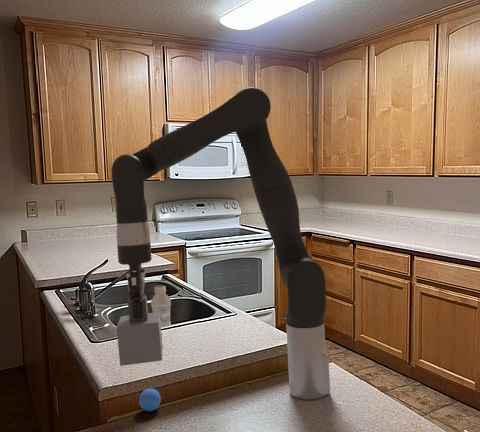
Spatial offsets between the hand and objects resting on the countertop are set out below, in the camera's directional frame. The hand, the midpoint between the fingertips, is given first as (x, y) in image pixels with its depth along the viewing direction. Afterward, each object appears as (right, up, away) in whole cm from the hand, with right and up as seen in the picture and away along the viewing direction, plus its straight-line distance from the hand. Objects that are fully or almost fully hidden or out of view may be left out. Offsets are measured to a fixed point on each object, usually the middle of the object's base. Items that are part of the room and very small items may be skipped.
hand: (138, 315), depth 108 cm
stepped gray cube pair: (+1, -10, 0) cm, 10 cm away
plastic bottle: (-2, -21, +49) cm, 53 cm away
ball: (+2, -20, +1) cm, 20 cm away
